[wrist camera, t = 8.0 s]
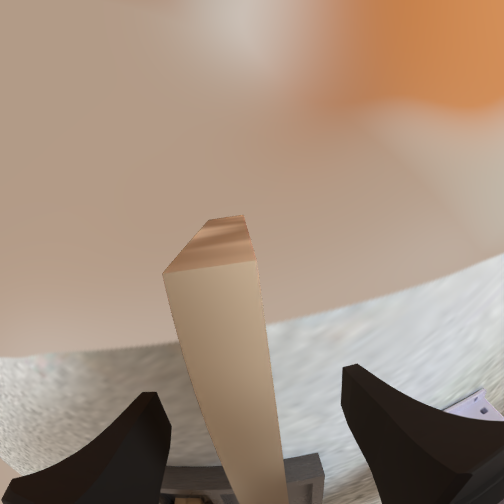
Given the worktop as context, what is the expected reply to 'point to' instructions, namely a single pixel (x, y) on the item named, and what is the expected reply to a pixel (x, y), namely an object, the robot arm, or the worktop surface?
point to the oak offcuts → (188, 501)
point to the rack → (221, 493)
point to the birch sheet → (229, 355)
